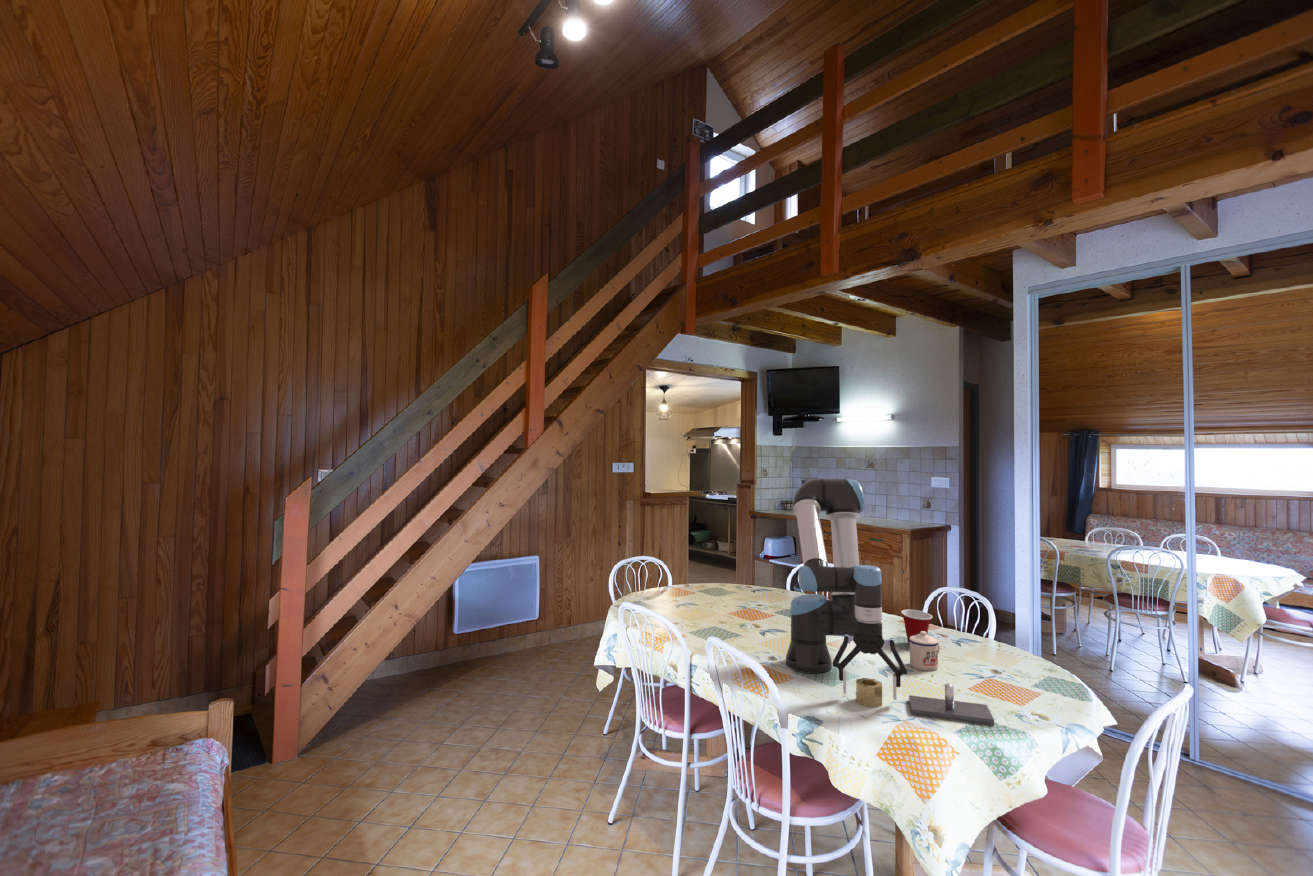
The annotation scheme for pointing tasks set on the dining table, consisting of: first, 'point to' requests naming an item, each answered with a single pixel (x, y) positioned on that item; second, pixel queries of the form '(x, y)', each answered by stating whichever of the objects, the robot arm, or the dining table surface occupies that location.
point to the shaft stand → (950, 708)
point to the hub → (869, 692)
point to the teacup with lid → (924, 652)
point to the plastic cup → (916, 622)
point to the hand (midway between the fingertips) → (869, 695)
